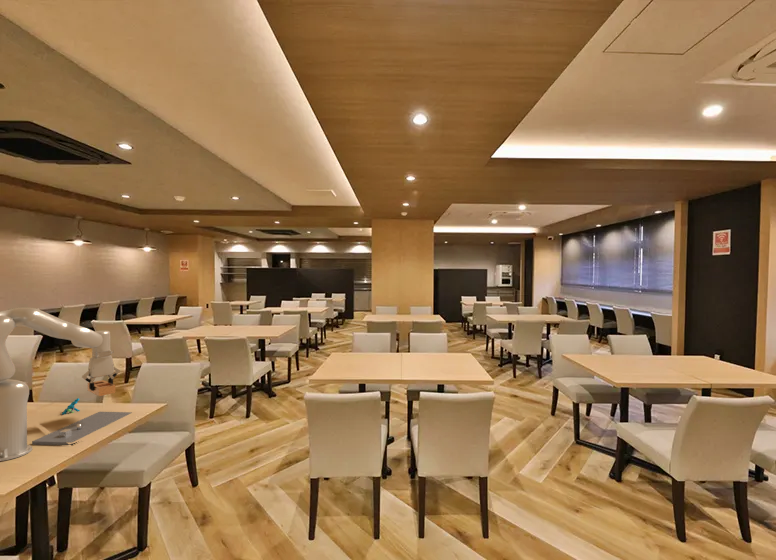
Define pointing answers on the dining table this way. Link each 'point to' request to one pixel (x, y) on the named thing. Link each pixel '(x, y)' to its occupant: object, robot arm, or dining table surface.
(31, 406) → the dining table surface
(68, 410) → the blue branched piece
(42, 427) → the dining table surface
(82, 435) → the board
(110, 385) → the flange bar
